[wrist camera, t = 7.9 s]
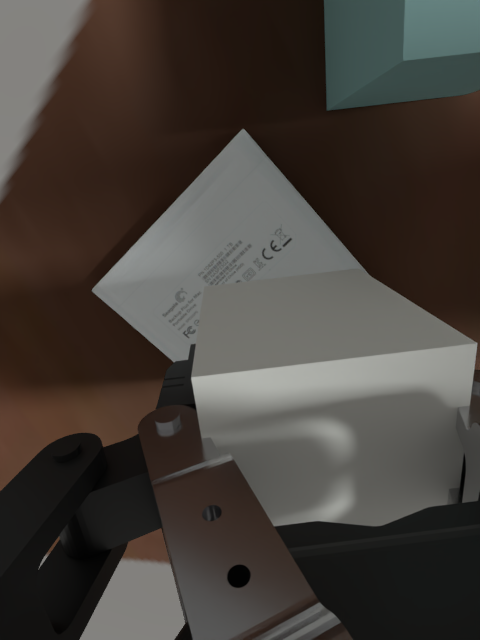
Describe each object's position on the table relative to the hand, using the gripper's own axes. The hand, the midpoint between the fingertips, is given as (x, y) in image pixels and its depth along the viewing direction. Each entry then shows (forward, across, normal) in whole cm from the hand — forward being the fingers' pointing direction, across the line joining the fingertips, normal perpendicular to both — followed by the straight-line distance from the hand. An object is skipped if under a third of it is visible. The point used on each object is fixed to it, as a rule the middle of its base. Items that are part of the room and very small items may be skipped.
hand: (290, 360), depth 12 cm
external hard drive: (+5, 0, 0) cm, 5 cm away
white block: (+1, 0, 0) cm, 1 cm away
